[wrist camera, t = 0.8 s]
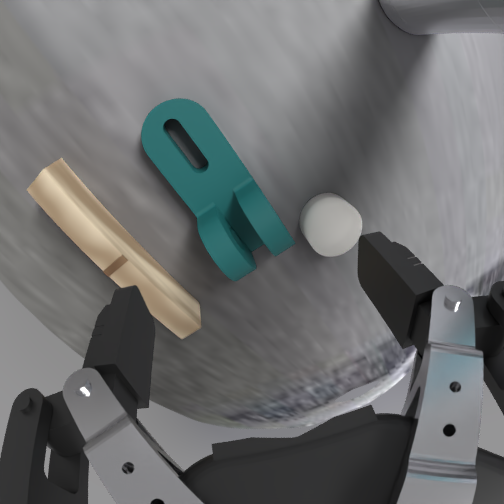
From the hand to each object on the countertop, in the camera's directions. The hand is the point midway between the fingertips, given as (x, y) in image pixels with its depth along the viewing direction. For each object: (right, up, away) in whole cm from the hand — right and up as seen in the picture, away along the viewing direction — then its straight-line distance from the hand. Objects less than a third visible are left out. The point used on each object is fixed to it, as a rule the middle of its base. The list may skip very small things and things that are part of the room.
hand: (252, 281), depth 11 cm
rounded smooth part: (+8, +5, +25) cm, 27 cm away
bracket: (-4, +9, +20) cm, 23 cm away
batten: (-14, +2, +22) cm, 26 cm away
